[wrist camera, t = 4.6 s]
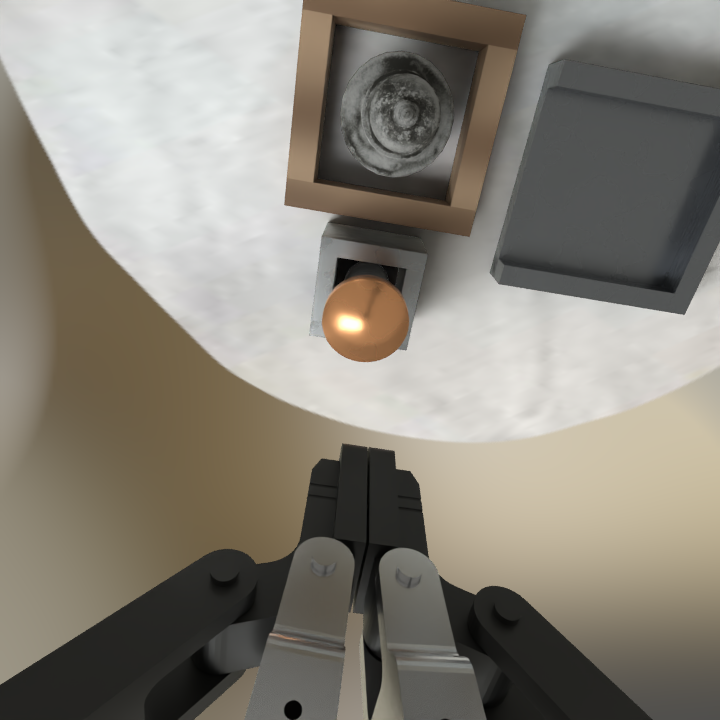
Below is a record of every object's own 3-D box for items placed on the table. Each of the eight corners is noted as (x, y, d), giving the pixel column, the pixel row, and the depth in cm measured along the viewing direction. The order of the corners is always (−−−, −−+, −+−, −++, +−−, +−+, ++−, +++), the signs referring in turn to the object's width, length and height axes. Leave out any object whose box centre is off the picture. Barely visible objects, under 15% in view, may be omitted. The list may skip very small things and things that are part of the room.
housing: (328, 222, 31) (321, 236, 27) (420, 237, 32) (427, 254, 28) (316, 310, 34) (309, 335, 30) (402, 323, 34) (406, 350, 30)
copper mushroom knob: (336, 242, 30) (328, 273, 24) (407, 254, 30) (417, 288, 24) (327, 309, 32) (317, 355, 26) (394, 320, 32) (399, 367, 26)
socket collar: (311, -15, 26) (305, -28, 24) (513, 24, 27) (526, 15, 24) (290, 199, 31) (284, 205, 28) (462, 228, 31) (469, 236, 29)
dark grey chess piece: (370, 189, 30) (370, 224, 20) (325, 92, 28) (297, 71, 17) (459, 143, 29) (512, 153, 18) (420, 38, 27) (453, -21, 16)
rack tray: (548, 64, 27) (565, 59, 25) (752, 103, 28) (786, 101, 26) (489, 273, 32) (498, 284, 30) (663, 301, 33) (684, 314, 31)
